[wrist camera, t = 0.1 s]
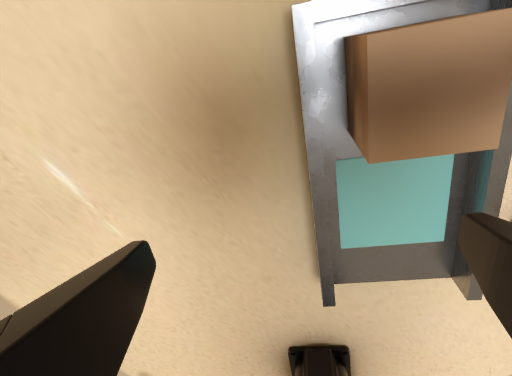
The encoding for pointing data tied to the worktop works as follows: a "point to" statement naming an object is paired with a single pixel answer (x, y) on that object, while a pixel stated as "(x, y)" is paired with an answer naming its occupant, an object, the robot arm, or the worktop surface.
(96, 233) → the worktop surface
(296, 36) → the shallow metal tray
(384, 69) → the walnut block
